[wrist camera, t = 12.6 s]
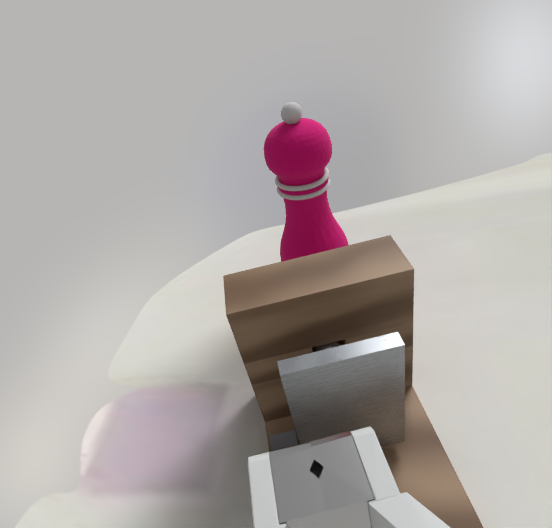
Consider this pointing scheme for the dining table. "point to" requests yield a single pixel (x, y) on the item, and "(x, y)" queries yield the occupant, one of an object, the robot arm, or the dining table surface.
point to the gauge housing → (345, 329)
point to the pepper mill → (303, 184)
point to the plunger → (348, 389)
